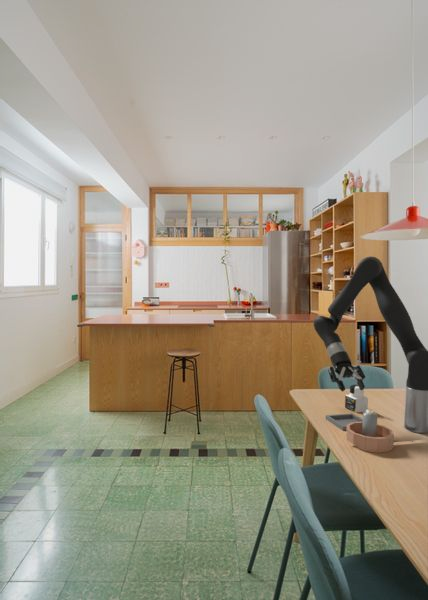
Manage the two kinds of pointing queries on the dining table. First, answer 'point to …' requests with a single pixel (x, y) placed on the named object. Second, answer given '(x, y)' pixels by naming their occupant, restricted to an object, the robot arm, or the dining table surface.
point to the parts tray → (343, 420)
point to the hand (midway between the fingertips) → (353, 389)
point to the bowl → (370, 438)
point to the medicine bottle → (356, 400)
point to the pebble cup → (369, 423)
